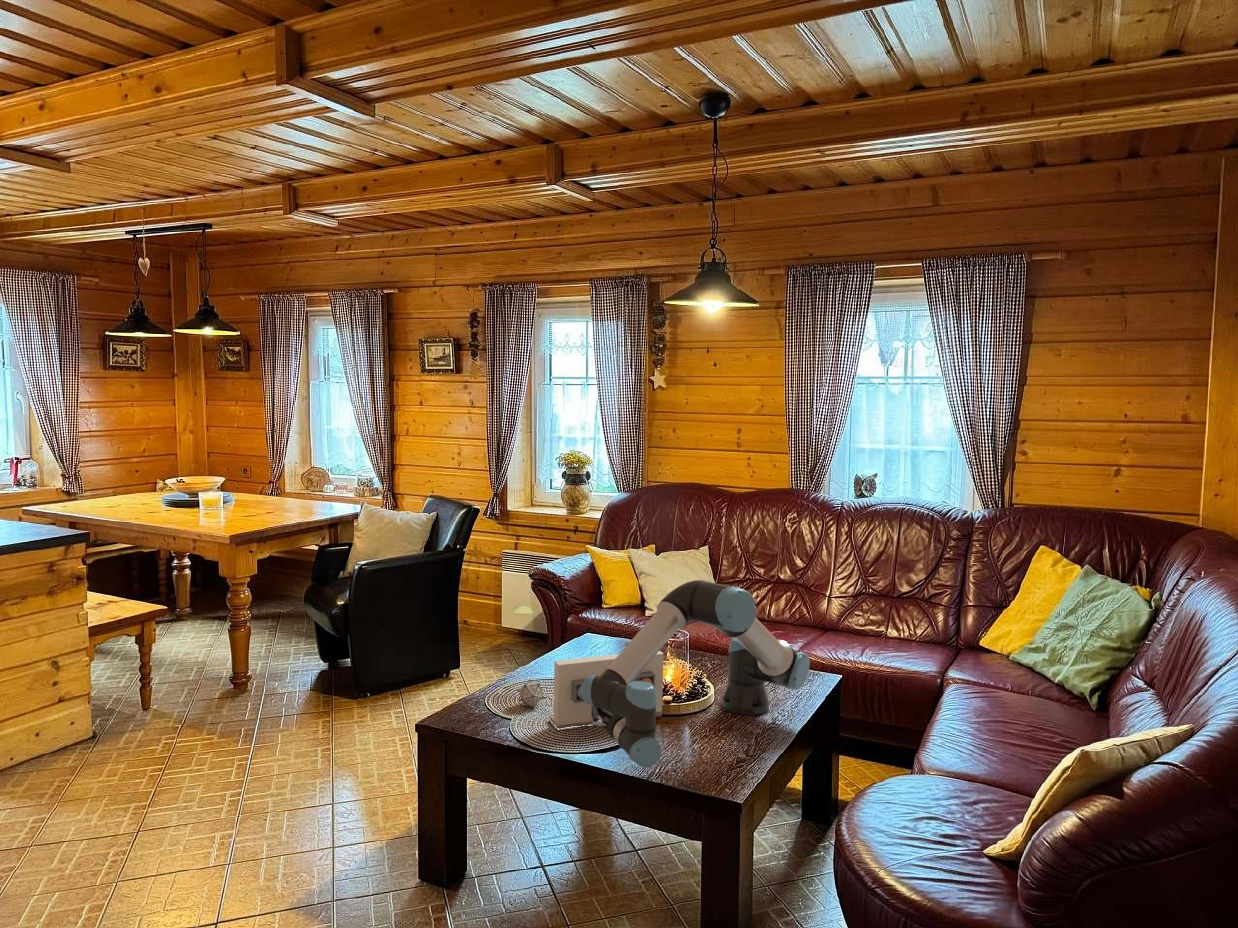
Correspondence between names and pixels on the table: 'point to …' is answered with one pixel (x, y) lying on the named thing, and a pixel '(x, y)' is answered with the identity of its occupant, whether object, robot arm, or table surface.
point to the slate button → (579, 691)
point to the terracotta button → (645, 680)
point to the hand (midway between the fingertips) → (594, 698)
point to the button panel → (575, 672)
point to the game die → (531, 694)
